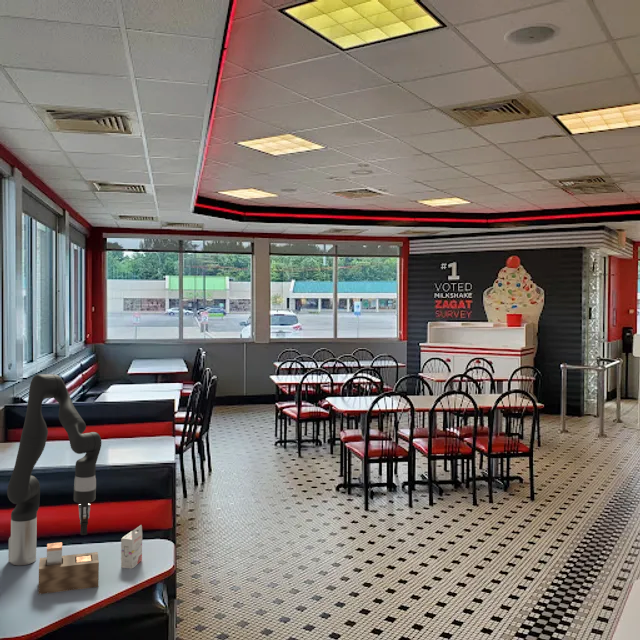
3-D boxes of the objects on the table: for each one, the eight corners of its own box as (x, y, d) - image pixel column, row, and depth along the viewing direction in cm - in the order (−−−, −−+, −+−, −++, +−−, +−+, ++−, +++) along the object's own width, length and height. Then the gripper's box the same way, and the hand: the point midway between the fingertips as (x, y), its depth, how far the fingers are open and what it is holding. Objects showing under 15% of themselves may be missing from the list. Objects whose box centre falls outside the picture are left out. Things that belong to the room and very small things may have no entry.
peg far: (76, 585, 239) (76, 562, 239) (76, 580, 244) (76, 556, 244) (90, 584, 241) (91, 560, 241) (90, 578, 246) (90, 555, 246)
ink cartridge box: (130, 559, 265) (131, 523, 264) (142, 560, 264) (143, 524, 263) (120, 567, 257) (120, 530, 256) (131, 569, 256) (132, 531, 255)
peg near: (46, 572, 236) (46, 548, 235) (46, 567, 240) (47, 543, 240) (61, 571, 237) (62, 547, 237) (61, 565, 242) (62, 542, 242)
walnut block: (38, 594, 233) (38, 569, 232) (39, 582, 242) (39, 558, 242) (98, 586, 240) (98, 562, 239) (97, 575, 249) (97, 552, 249)
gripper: (96, 492, 236) (95, 540, 237) (95, 481, 248) (93, 527, 249) (74, 493, 233) (72, 542, 234) (73, 483, 246) (72, 528, 247)
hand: (83, 534), depth 242 cm, fingers closed
